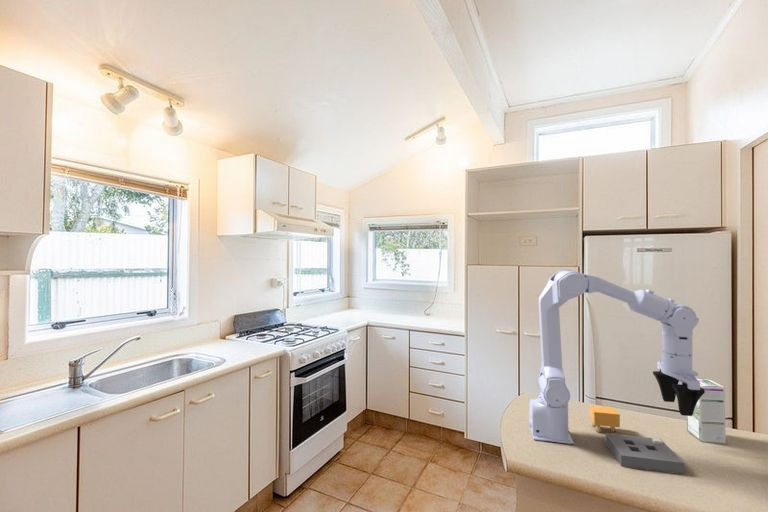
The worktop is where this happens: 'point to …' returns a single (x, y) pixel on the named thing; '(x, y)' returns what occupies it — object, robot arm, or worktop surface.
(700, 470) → the worktop surface
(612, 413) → the plug
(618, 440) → the socket
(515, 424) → the worktop surface
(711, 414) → the syrup box
